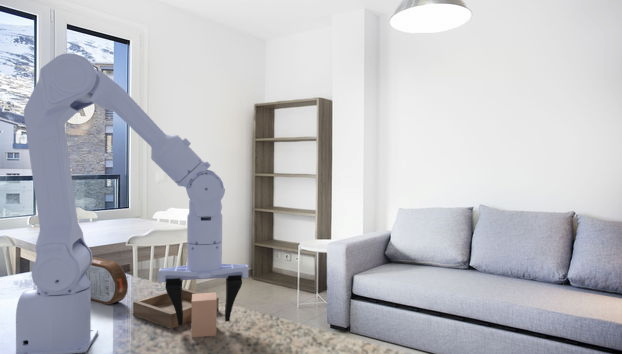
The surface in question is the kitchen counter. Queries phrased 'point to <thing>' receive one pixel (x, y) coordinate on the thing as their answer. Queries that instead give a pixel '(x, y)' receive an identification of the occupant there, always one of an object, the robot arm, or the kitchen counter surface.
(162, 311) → the tray
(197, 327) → the block
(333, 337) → the kitchen counter surface
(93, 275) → the tin
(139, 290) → the kitchen counter surface
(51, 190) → the robot arm
